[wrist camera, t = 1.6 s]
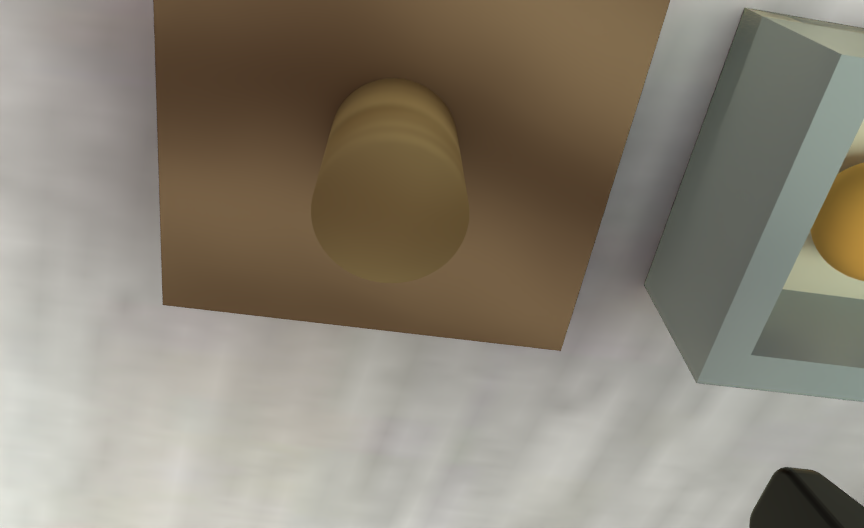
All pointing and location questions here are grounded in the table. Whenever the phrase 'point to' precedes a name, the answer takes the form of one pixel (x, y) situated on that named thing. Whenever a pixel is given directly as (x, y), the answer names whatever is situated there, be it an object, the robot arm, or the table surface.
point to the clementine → (843, 224)
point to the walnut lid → (393, 157)
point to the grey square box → (768, 216)
